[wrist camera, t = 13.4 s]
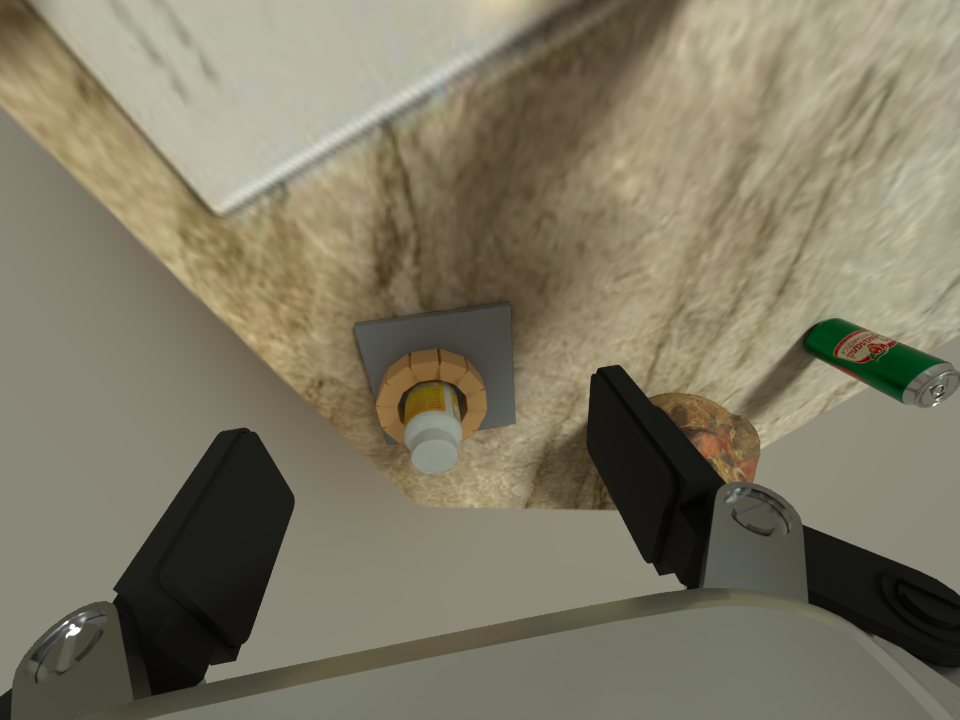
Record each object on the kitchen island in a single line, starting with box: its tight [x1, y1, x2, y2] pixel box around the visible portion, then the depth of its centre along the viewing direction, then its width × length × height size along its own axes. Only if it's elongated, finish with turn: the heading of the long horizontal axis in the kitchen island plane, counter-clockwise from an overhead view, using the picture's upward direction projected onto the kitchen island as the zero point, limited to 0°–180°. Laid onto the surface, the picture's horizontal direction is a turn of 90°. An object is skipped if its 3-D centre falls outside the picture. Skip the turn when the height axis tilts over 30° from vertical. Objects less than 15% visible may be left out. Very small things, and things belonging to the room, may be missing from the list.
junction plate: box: [354, 302, 516, 445], centre depth 39 cm, size 15×15×1 cm
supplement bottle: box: [404, 379, 462, 474], centre depth 35 cm, size 5×5×10 cm
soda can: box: [805, 318, 960, 408], centre depth 40 cm, size 5×5×12 cm
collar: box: [376, 349, 487, 446], centre depth 38 cm, size 11×11×2 cm
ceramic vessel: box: [608, 393, 760, 504], centre depth 37 cm, size 17×26×25 cm, turn 34°
